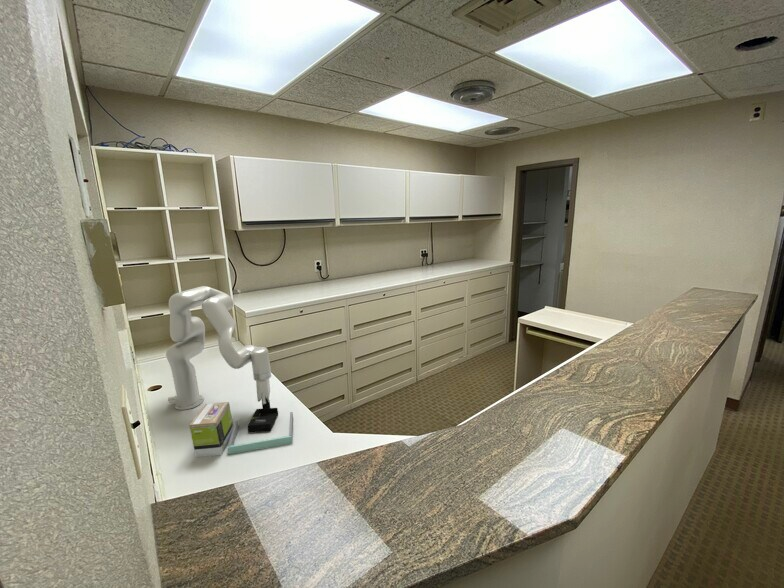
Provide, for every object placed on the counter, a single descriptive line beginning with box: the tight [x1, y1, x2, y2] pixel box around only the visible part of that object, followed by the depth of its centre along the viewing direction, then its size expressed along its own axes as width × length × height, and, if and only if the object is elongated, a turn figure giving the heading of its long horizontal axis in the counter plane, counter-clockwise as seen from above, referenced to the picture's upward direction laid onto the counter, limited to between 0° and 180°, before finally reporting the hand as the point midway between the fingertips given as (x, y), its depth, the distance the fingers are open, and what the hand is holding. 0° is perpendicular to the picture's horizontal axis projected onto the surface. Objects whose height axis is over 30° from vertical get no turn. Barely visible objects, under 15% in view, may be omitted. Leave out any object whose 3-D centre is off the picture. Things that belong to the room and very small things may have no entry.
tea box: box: [189, 401, 234, 458], centre depth 142 cm, size 15×10×15 cm
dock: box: [226, 411, 294, 455], centre depth 148 cm, size 24×18×3 cm
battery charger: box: [247, 407, 279, 434], centre depth 156 cm, size 13×10×4 cm
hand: (266, 410), depth 164 cm, fingers closed
